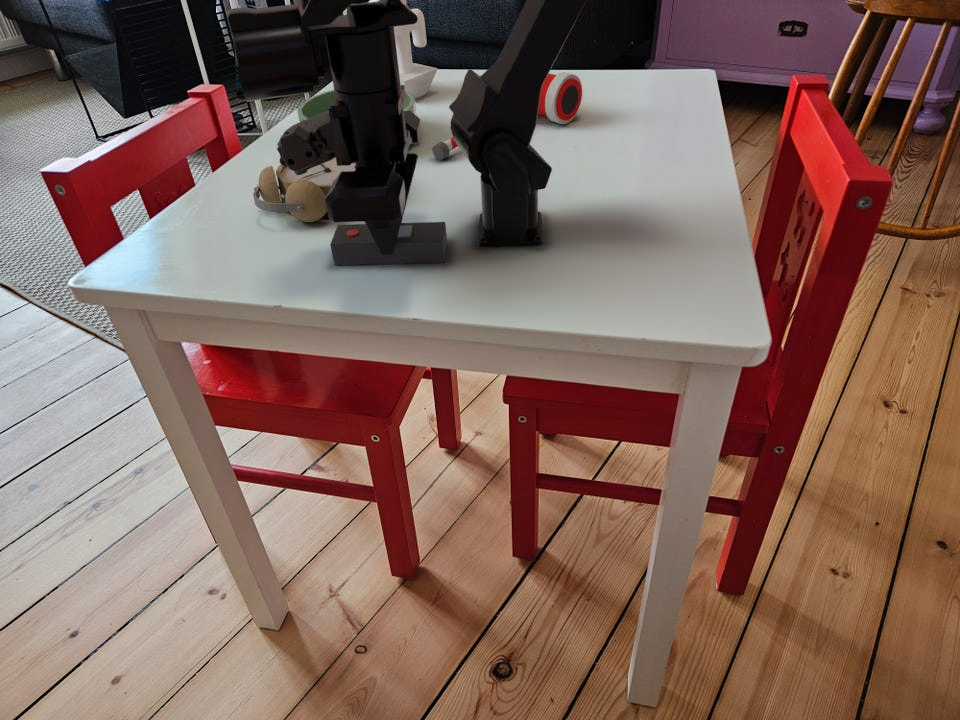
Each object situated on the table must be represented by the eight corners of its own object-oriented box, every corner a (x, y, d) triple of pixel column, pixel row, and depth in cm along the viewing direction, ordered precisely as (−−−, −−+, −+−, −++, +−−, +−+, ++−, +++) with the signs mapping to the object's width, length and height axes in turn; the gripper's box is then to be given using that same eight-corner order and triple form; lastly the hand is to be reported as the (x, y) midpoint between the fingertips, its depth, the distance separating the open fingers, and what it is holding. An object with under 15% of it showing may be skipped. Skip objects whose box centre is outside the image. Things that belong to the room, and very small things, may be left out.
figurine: (444, 90, 109) (436, -17, 100) (401, 108, 104) (388, -3, 94) (411, 82, 113) (400, -21, 104) (368, 100, 108) (352, -8, 98)
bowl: (412, 162, 88) (407, 123, 85) (293, 166, 89) (284, 128, 86) (423, 119, 100) (420, 83, 97) (318, 122, 101) (311, 87, 98)
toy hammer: (471, 172, 85) (468, 120, 81) (405, 149, 92) (399, 100, 88) (583, 116, 98) (585, 69, 94) (518, 100, 104) (518, 55, 100)
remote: (447, 242, 72) (445, 220, 71) (444, 262, 69) (442, 239, 68) (341, 245, 73) (337, 223, 71) (334, 265, 70) (329, 242, 68)
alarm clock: (398, 165, 81) (289, 191, 70) (398, 207, 83) (293, 237, 73) (335, 144, 87) (226, 165, 76) (336, 183, 89) (231, 208, 79)
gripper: (300, 55, 68) (329, 202, 78) (243, 127, 54) (288, 297, 63) (414, 50, 67) (429, 199, 77) (387, 122, 53) (410, 294, 63)
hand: (390, 243), depth 70 cm, fingers closed on remote, 4 cm apart
